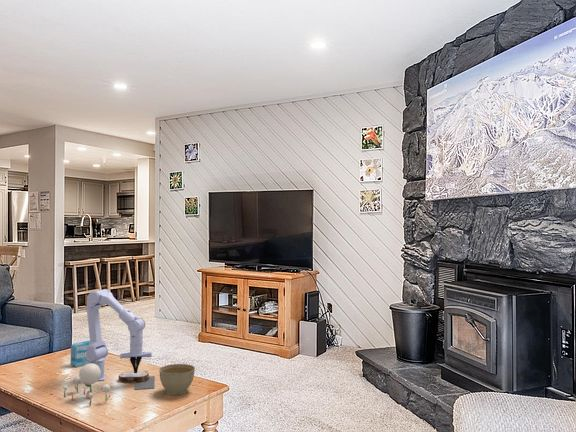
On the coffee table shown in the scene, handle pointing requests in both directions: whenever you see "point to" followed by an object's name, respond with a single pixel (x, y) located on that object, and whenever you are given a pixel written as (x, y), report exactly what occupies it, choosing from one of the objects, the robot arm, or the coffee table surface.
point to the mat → (146, 384)
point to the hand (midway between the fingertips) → (135, 372)
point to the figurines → (89, 380)
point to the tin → (133, 377)
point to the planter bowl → (176, 378)
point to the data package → (79, 353)
